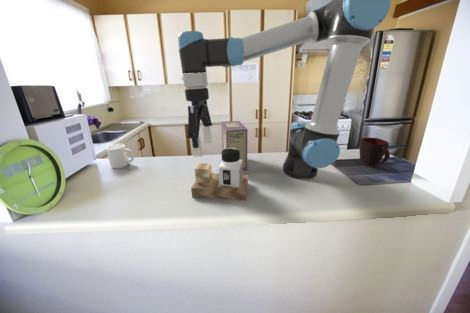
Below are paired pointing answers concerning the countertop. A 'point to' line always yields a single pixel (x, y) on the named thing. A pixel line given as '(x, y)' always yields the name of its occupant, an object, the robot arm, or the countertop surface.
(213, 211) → the countertop surface
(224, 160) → the container
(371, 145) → the mug
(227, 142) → the box
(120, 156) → the cup
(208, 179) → the oak cube
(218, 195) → the base board
